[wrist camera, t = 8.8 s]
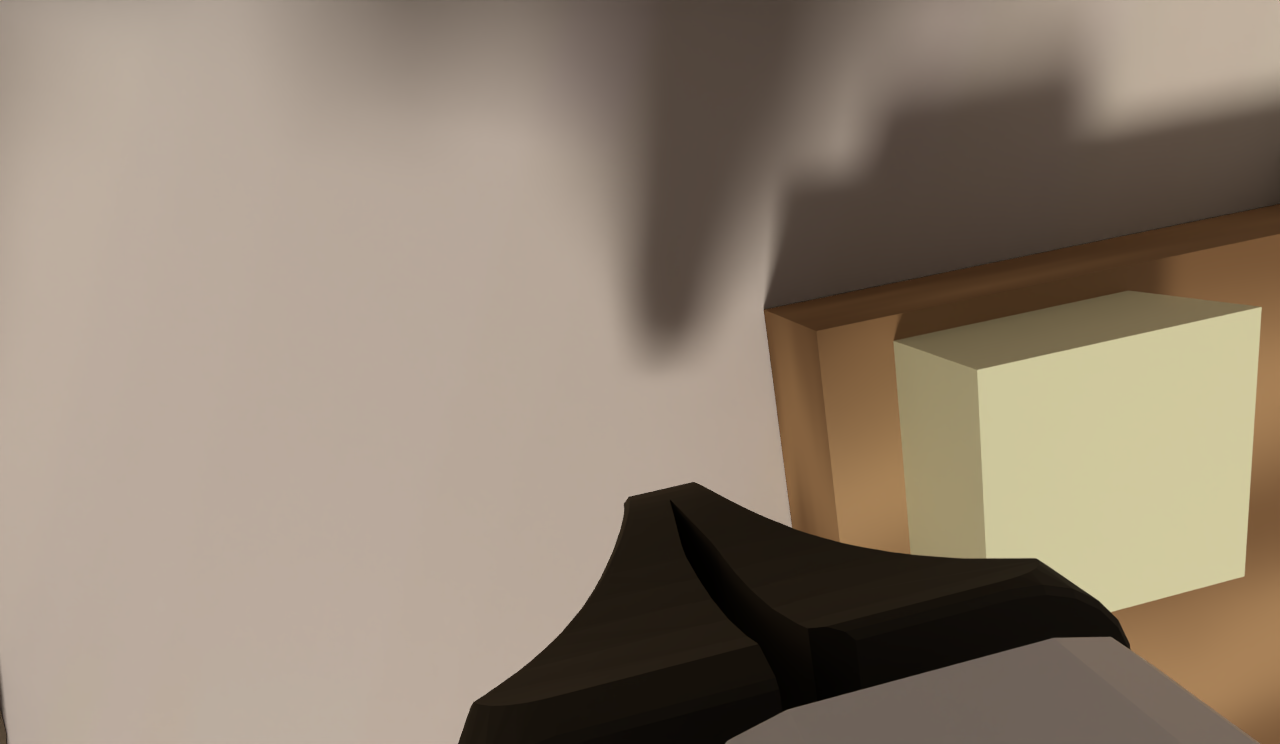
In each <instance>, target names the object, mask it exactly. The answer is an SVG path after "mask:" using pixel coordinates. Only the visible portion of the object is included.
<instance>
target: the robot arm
mask: <svg viewBox="0 0 1280 744" xmlns="http://www.w3.org/2000/svg"><path fill="white" fill-rule="evenodd" d="M458 744H1260V743H1259V742H1257V741H1256V740H1255V739H1253V738H1252V737H1251V736H1249V735H1248V734H1247V733H1245V732H1244V731H1242V730H1241V729H1240V728H1238V727H1237V726H1236V725H1234V724H1233V723H1231V722H1230V721H1229V720H1227V719H1226V718H1225V717H1223V716H1222V715H1221V714H1219V713H1218V712H1216V711H1215V710H1214V709H1212V708H1211V707H1210V706H1208V705H1207V704H1205V703H1204V702H1203V701H1201V700H1200V699H1199V698H1197V697H1196V696H1195V695H1193V694H1192V693H1190V692H1189V691H1188V690H1186V689H1185V688H1184V687H1182V686H1181V685H1179V684H1178V683H1177V682H1175V681H1174V680H1173V679H1171V678H1170V677H1169V676H1167V675H1166V674H1164V673H1163V672H1162V671H1160V670H1159V669H1158V668H1156V667H1155V666H1153V665H1152V664H1151V663H1149V662H1148V661H1146V660H1145V659H1143V658H1142V657H1140V656H1139V655H1137V654H1136V653H1134V652H1133V651H1131V649H1130V643H1129V641H1128V639H1127V637H1126V635H1125V633H1124V631H1123V629H1122V627H1121V624H1120V622H1119V620H1118V619H1117V618H1116V617H1115V616H1114V615H1113V614H1112V613H1111V612H1110V611H1109V610H1108V609H1107V608H1106V607H1105V606H1104V605H1103V604H1102V603H1101V602H1100V601H1099V600H1097V599H1096V598H1094V597H1093V596H1091V595H1090V594H1088V593H1087V592H1085V591H1084V590H1083V589H1081V588H1080V587H1078V586H1077V585H1075V584H1074V583H1072V582H1071V581H1069V580H1068V579H1066V578H1065V577H1064V576H1062V575H1061V574H1059V573H1058V572H1056V571H1055V570H1053V569H1052V568H1050V567H1049V566H1047V565H1046V564H1044V563H1043V562H1041V561H1040V560H1038V559H1037V558H949V557H935V556H922V555H912V554H904V553H895V552H888V551H883V550H877V549H871V548H865V547H860V546H855V545H850V544H846V543H841V542H837V541H833V540H830V539H826V538H823V537H819V536H816V535H812V534H808V533H805V532H802V531H799V530H796V529H793V528H791V527H788V526H786V525H783V524H781V523H778V522H775V521H773V520H770V519H768V518H766V517H763V516H761V515H759V514H757V513H754V512H752V511H750V510H748V509H746V508H744V507H742V506H740V505H738V504H736V503H734V502H732V501H730V500H728V499H726V498H724V497H722V496H720V495H719V494H717V493H715V492H713V491H711V490H709V489H707V488H705V487H704V486H702V485H700V484H698V483H695V482H692V483H688V484H683V485H679V486H675V487H670V488H666V489H662V490H657V491H653V492H648V493H644V494H640V495H635V496H631V497H629V498H628V499H627V500H626V502H625V503H624V517H623V522H622V526H621V530H620V533H619V535H618V538H617V541H616V544H615V547H614V550H613V552H612V555H611V557H610V559H609V561H608V563H607V566H606V568H605V570H604V572H603V574H602V576H601V578H600V580H599V582H598V584H597V585H596V587H595V589H594V591H593V592H592V594H591V595H590V597H589V598H588V600H587V601H586V603H585V605H584V606H583V607H582V609H581V610H580V611H579V613H578V614H577V615H576V616H575V617H574V618H573V620H572V621H571V622H570V623H569V624H568V626H567V627H566V628H565V629H564V630H563V631H562V633H561V634H560V635H559V636H558V637H557V638H556V639H555V640H554V641H553V642H552V643H550V644H549V645H548V646H547V647H546V648H545V649H544V650H543V651H542V652H541V653H540V654H539V655H537V656H536V657H535V658H534V659H533V660H532V661H531V662H529V663H528V664H527V665H526V666H524V667H523V668H522V669H521V670H519V671H518V672H517V673H515V674H514V675H513V676H511V677H510V678H508V679H507V680H505V681H504V682H503V683H501V684H500V685H498V686H497V687H496V688H494V689H493V690H491V691H490V692H488V693H487V694H486V695H484V696H483V697H481V698H479V699H478V700H476V701H475V702H473V704H472V706H471V708H470V711H469V714H468V716H467V719H466V722H465V725H464V728H463V731H462V734H461V737H460V740H459V743H458Z"/></svg>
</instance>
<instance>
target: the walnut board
mask: <svg viewBox="0 0 1280 744" xmlns="http://www.w3.org/2000/svg"><path fill="white" fill-rule="evenodd" d="M1124 291H1137V292H1145V293H1153V294H1161V295H1169V296H1177V297H1185V298H1194V299H1202V300H1210V301H1218V302H1226V303H1234V304H1242V305H1251V306H1259V307H1262V311H1261V326H1260V342H1259V357H1258V373H1257V389H1256V404H1255V420H1254V435H1253V451H1252V467H1251V482H1250V498H1249V513H1248V529H1247V545H1246V560H1245V576H1244V577H1240V578H1236V579H1233V580H1229V581H1225V582H1221V583H1218V584H1214V585H1210V586H1207V587H1203V588H1199V589H1195V590H1192V591H1188V592H1184V593H1180V594H1177V595H1173V596H1169V597H1165V598H1162V599H1158V600H1154V601H1150V602H1147V603H1143V604H1139V605H1135V606H1132V607H1128V608H1124V609H1120V610H1117V611H1113V612H1111V613H1112V614H1113V615H1114V616H1115V617H1116V618H1117V619H1118V620H1119V622H1120V624H1121V627H1122V629H1123V631H1124V633H1125V635H1126V637H1127V639H1128V641H1129V643H1130V649H1131V651H1133V652H1134V653H1136V654H1137V655H1139V656H1140V657H1142V658H1143V659H1145V660H1146V661H1148V662H1149V663H1151V664H1152V665H1153V666H1155V667H1156V668H1158V669H1159V670H1160V671H1162V672H1163V673H1164V674H1166V675H1167V676H1169V677H1170V678H1171V679H1173V680H1174V681H1175V682H1177V683H1178V684H1179V685H1181V686H1182V687H1184V688H1185V689H1186V690H1188V691H1189V692H1190V693H1192V694H1193V695H1195V696H1196V697H1197V698H1199V699H1200V700H1201V701H1203V702H1204V703H1205V704H1207V705H1208V706H1210V707H1211V708H1212V709H1214V710H1215V711H1216V712H1218V713H1219V714H1221V715H1222V716H1223V717H1225V718H1226V719H1227V720H1229V721H1230V722H1231V723H1233V724H1234V725H1236V726H1237V727H1238V728H1240V729H1241V730H1242V731H1244V732H1245V733H1247V734H1248V735H1249V736H1251V737H1252V738H1253V739H1255V740H1256V741H1257V742H1259V743H1260V744H1280V204H1277V205H1272V206H1267V207H1262V208H1258V209H1253V210H1248V211H1243V212H1238V213H1233V214H1228V215H1223V216H1219V217H1214V218H1209V219H1204V220H1199V221H1194V222H1189V223H1184V224H1179V225H1175V226H1170V227H1165V228H1160V229H1155V230H1150V231H1145V232H1140V233H1136V234H1131V235H1126V236H1121V237H1116V238H1111V239H1106V240H1101V241H1096V242H1092V243H1087V244H1082V245H1077V246H1072V247H1067V248H1062V249H1057V250H1053V251H1048V252H1043V253H1038V254H1033V255H1028V256H1023V257H1018V258H1013V259H1009V260H1004V261H999V262H994V263H989V264H984V265H979V266H974V267H970V268H965V269H960V270H955V271H950V272H945V273H940V274H935V275H930V276H926V277H921V278H916V279H911V280H906V281H901V282H896V283H891V284H887V285H882V286H877V287H872V288H867V289H862V290H857V291H852V292H847V293H843V294H838V295H833V296H828V297H823V298H818V299H813V300H808V301H804V302H799V303H794V304H789V305H784V306H779V307H774V308H769V309H764V314H765V322H766V330H767V337H768V345H769V353H770V360H771V368H772V375H773V383H774V391H775V398H776V406H777V414H778V421H779V429H780V437H781V444H782V452H783V459H784V467H785V475H786V482H787V490H788V498H789V505H790V513H791V521H792V528H793V529H796V530H799V531H802V532H805V533H808V534H812V535H816V536H819V537H823V538H826V539H830V540H833V541H837V542H841V543H846V544H850V545H855V546H860V547H865V548H871V549H877V550H883V551H888V552H895V553H904V554H911V552H910V540H909V527H908V515H907V503H906V490H905V478H904V466H903V454H902V441H901V429H900V417H899V404H898V392H897V380H896V367H895V355H894V343H893V341H895V340H900V339H904V338H909V337H914V336H918V335H923V334H928V333H932V332H937V331H942V330H946V329H951V328H956V327H960V326H965V325H970V324H974V323H979V322H984V321H988V320H993V319H998V318H1002V317H1007V316H1012V315H1016V314H1021V313H1026V312H1030V311H1035V310H1040V309H1044V308H1049V307H1054V306H1058V305H1063V304H1068V303H1072V302H1077V301H1082V300H1086V299H1091V298H1096V297H1100V296H1105V295H1110V294H1114V293H1119V292H1124Z"/></svg>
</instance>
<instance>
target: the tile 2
mask: <svg viewBox="0 0 1280 744" xmlns="http://www.w3.org/2000/svg"><path fill="white" fill-rule="evenodd" d="M1261 311H1262V307H1259V306H1251V305H1242V304H1234V303H1226V302H1218V301H1210V300H1202V299H1194V298H1185V297H1177V296H1169V295H1161V294H1153V293H1145V292H1137V291H1124V292H1119V293H1114V294H1110V295H1105V296H1100V297H1096V298H1091V299H1086V300H1082V301H1077V302H1072V303H1068V304H1063V305H1058V306H1054V307H1049V308H1044V309H1040V310H1035V311H1030V312H1026V313H1021V314H1016V315H1012V316H1007V317H1002V318H998V319H993V320H988V321H984V322H979V323H974V324H970V325H965V326H960V327H956V328H951V329H946V330H942V331H937V332H932V333H928V334H923V335H918V336H914V337H909V338H904V339H900V340H895V341H893V343H894V355H895V367H896V380H897V392H898V404H899V417H900V429H901V441H902V454H903V466H904V478H905V490H906V503H907V515H908V527H909V540H910V552H911V554H912V555H922V556H935V557H949V558H1037V559H1038V560H1040V561H1041V562H1043V563H1044V564H1046V565H1047V566H1049V567H1050V568H1052V569H1053V570H1055V571H1056V572H1058V573H1059V574H1061V575H1062V576H1064V577H1065V578H1066V579H1068V580H1069V581H1071V582H1072V583H1074V584H1075V585H1077V586H1078V587H1080V588H1081V589H1083V590H1084V591H1085V592H1087V593H1088V594H1090V595H1091V596H1093V597H1094V598H1096V599H1097V600H1099V601H1100V602H1101V603H1102V604H1103V605H1104V606H1105V607H1106V608H1107V609H1108V610H1109V611H1110V612H1113V611H1117V610H1120V609H1124V608H1128V607H1132V606H1135V605H1139V604H1143V603H1147V602H1150V601H1154V600H1158V599H1162V598H1165V597H1169V596H1173V595H1177V594H1180V593H1184V592H1188V591H1192V590H1195V589H1199V588H1203V587H1207V586H1210V585H1214V584H1218V583H1221V582H1225V581H1229V580H1233V579H1236V578H1240V577H1244V576H1245V560H1246V545H1247V529H1248V513H1249V498H1250V482H1251V467H1252V451H1253V435H1254V420H1255V404H1256V389H1257V373H1258V357H1259V342H1260V326H1261Z"/></svg>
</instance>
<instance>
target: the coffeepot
mask: <svg viewBox="0 0 1280 744" xmlns="http://www.w3.org/2000/svg"><path fill="white" fill-rule="evenodd" d="M0 744H6V731H5V726H4V722H3V718H2V714H1V710H0Z"/></svg>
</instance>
